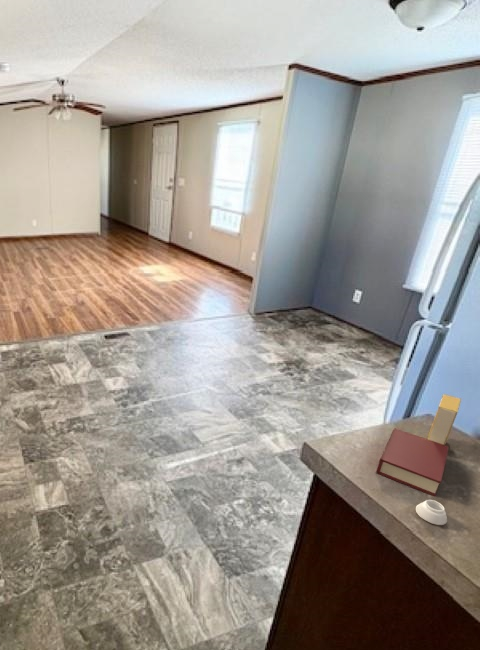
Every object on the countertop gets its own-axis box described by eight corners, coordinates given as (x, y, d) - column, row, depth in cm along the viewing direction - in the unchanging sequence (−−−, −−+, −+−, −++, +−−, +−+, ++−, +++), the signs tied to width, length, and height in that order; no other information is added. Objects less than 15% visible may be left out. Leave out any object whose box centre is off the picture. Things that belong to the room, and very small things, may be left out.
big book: (389, 440, 107) (393, 427, 106) (443, 460, 100) (449, 446, 99) (375, 472, 96) (380, 458, 95) (435, 496, 90) (441, 481, 88)
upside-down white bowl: (435, 529, 82) (451, 521, 83) (440, 518, 80) (456, 510, 82) (409, 511, 86) (425, 504, 88) (413, 500, 85) (429, 493, 86)
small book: (445, 439, 108) (461, 398, 103) (441, 454, 102) (457, 412, 98) (428, 433, 110) (443, 393, 105) (423, 448, 105) (438, 406, 100)
